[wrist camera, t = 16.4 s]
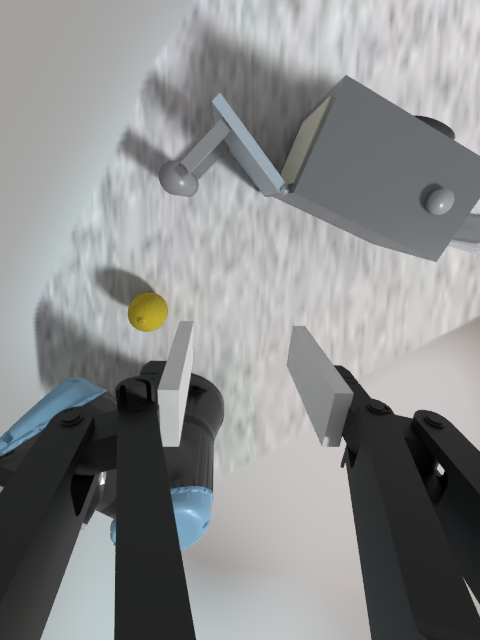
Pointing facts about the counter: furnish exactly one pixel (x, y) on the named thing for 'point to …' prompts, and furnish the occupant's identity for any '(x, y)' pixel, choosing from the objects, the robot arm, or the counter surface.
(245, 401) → the counter surface
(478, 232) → the photo printer
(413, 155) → the grey cabinet
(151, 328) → the lemon
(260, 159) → the side door
